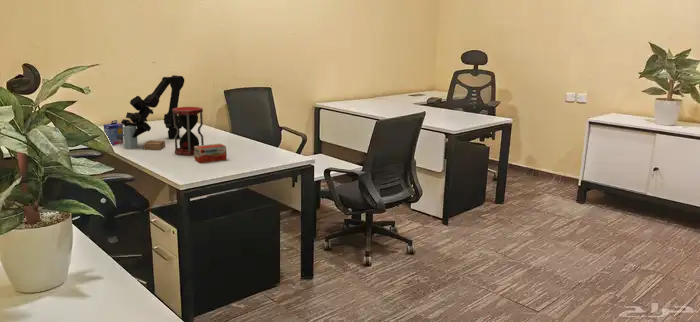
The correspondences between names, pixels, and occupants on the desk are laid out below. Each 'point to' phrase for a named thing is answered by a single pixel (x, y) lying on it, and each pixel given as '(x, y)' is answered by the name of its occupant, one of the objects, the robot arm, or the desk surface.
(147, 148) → the walnut block
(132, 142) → the slate post
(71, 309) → the desk surface
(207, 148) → the medicine box
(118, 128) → the ink cartridge box
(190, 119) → the hourglass
